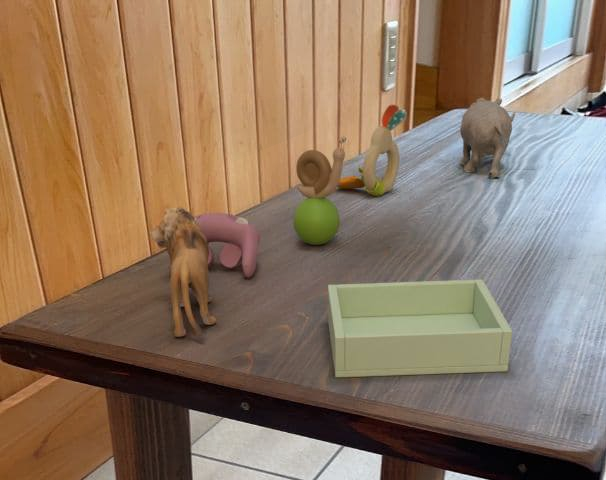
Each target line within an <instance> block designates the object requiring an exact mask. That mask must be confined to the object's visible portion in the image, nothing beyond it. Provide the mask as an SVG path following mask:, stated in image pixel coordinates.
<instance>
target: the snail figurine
mask: <svg viewBox="0 0 606 480" xmlns="http://www.w3.org/2000/svg"><path fill="white" fill-rule="evenodd" d="M346 141H347V137H346V136H342V137H339V138H338V143H339V144H340V147H336V148H335V149H334V150H333V152H332V160H333V163H332V166H331V163H330V161H329V159H328V158H327V156H326V155H325V154H324V153H323V152H321V151H319V150H316V149H308V150H306V151H304V152H303V153H302V154H300V156H299V157H298V160H297V162H296V166H295V167H296V169H295V170H296V175H297V179H298V180H299V182H300V183H301V184H297V185H296V188H297V190H298V191H299V193H301V195H302V196H303V197H305V198H304V199H303V200H302V201H300V203H299V204H298V205H297V207H296V209H295V211H294V213H293V227H294V230H295V233H296V234H297V236H298V237H299V238H300V239H301V240H302V241H303V242H304V243H306V244H309V245H313V246H322V245H324V244H326V243H329V242H330V241H331V240H333V238H334V237H335V236H336V234H337V233H338V230H339V227H340V222H341V221H340V219H341V218H340V214H339V210H338V208H337V207H336V205H335V203H334V202H332V201H331V200H330V199H328V198H327V197H329V196H331V195H332V194H334V193H335V191H336V190H337V189H338V187H337V186H338V184H339V181H340V178H342V172H343V164H344V160H345V158H346V151H345V147H342V144H344V143H345V142H346Z"/></svg>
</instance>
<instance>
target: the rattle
mask: <svg viewBox="0 0 606 480" xmlns="http://www.w3.org/2000/svg"><path fill="white" fill-rule="evenodd" d="M407 114H408V113H407V112H406V109H403V108H400V107H399V106H398V105H397V104H389V105H388V106H387V107H386V108H385V110H384V112H383V114H382V117H381V126H378V127H377V128H375V129H374V130H373V132H372V135H371V139H370V145H369V148H368V150H367V152H366V154H365V156H364V160H363V166H359V167H358V172H359V173H360V174H361V175H360V177H359V176H356V175H352V176H351V175H350V176H344V177H340V181H339V184H338V186H337V189H342V190H354V189H362V188H364V189H365V191H366V192H367V194H369V195H371V196H374V197H379V196H382V195H384V194H385V193H389V192H391V191H392V190H393V189H394V186H395V181H396V179H397V176H398V172H399V168H400V151H399V147H398V144H397V143H396V141H394V140H393V136H392V132H391V131H393V130H394V129H396V127H398V126H399V125H400V124H402V123H403V122H404V121H406V120H407ZM384 154H386V157H387V163H386V169H385V172H384V175H383V176H381V178H378V177H377V176H376V165H377V161H378V159H379V157H380V155H384Z"/></svg>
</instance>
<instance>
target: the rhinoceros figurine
mask: <svg viewBox="0 0 606 480" xmlns="http://www.w3.org/2000/svg"><path fill="white" fill-rule="evenodd" d="M502 103H503V99H502V98H498V97H497V98H496V99H495V101H492V100H487V99H485V98H484V97H479V98H478V99H476V101H475V102H472V103H471V104H470V106H469V107H468V108H467V110H466V111H465V112H464V114H463V115H462V117H461V123H460V129H459V131H460V132H459V133H460V137H461V139H462V154H463V155H462V159H461V160H460V161H459V164H461V165H462V166H464V168H463V170H462V171H463V172H465V173H468V174H469V173H473V172H477V170H476V169H477V168H478V167H479V166H480V164H481V161H482V159H483V158H485V157H488V156H493V157H492V159H489V161H492V163H491V167H490V169H489V172H488V175H487V178H488V179H489V178H490V179H495V178H498V179H501V174H500V167H499V165H500V163H501V159H502V158H503V156H504V155H505V153H506V151H507V148H508V146H509V143H510V139H511V135H512V131H513V122H514V119H515V117H516V111H514V112H513V113H512V114H511V116H510V114H509V112H508V111H507V110H506V108H504V107H503V106H501V105H502Z"/></svg>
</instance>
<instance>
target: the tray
mask: <svg viewBox="0 0 606 480" xmlns="http://www.w3.org/2000/svg"><path fill="white" fill-rule="evenodd" d="M327 323H328V331H329V340H330V347H331V353H332V355H331V356H332V362H333V363H332V364H333V369H334V376H335V378H358V377H359V378H360V377H388V376H389V377H390V376H415V375H442V374H443V375H444V374H445V375H446V374H469V373H471V374H472V373H473V374H474V373H498V372H499V373H501V372H508V371H509V363H510V356H511V347H512V338H513V329H512V328H511V326H510V325H509V323H508V321H507V320H506V318H505V316H504V314H503V312H502V311H501V309H500V307H499V305H498V303H497V302H496V300H495V299H494V297H493V295H492V293H491V292H490V290H489V288H488V287H487V285H486V283H485V282H484V280H483V279H458V280H456V279H455V280H453V279H452V280H428V281H401V282H400V281H399V282H397V281H395V282H373V283H371V282H370V283H346V284H345V283H344V284H343V283H341V284H328V285H327Z"/></svg>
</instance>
